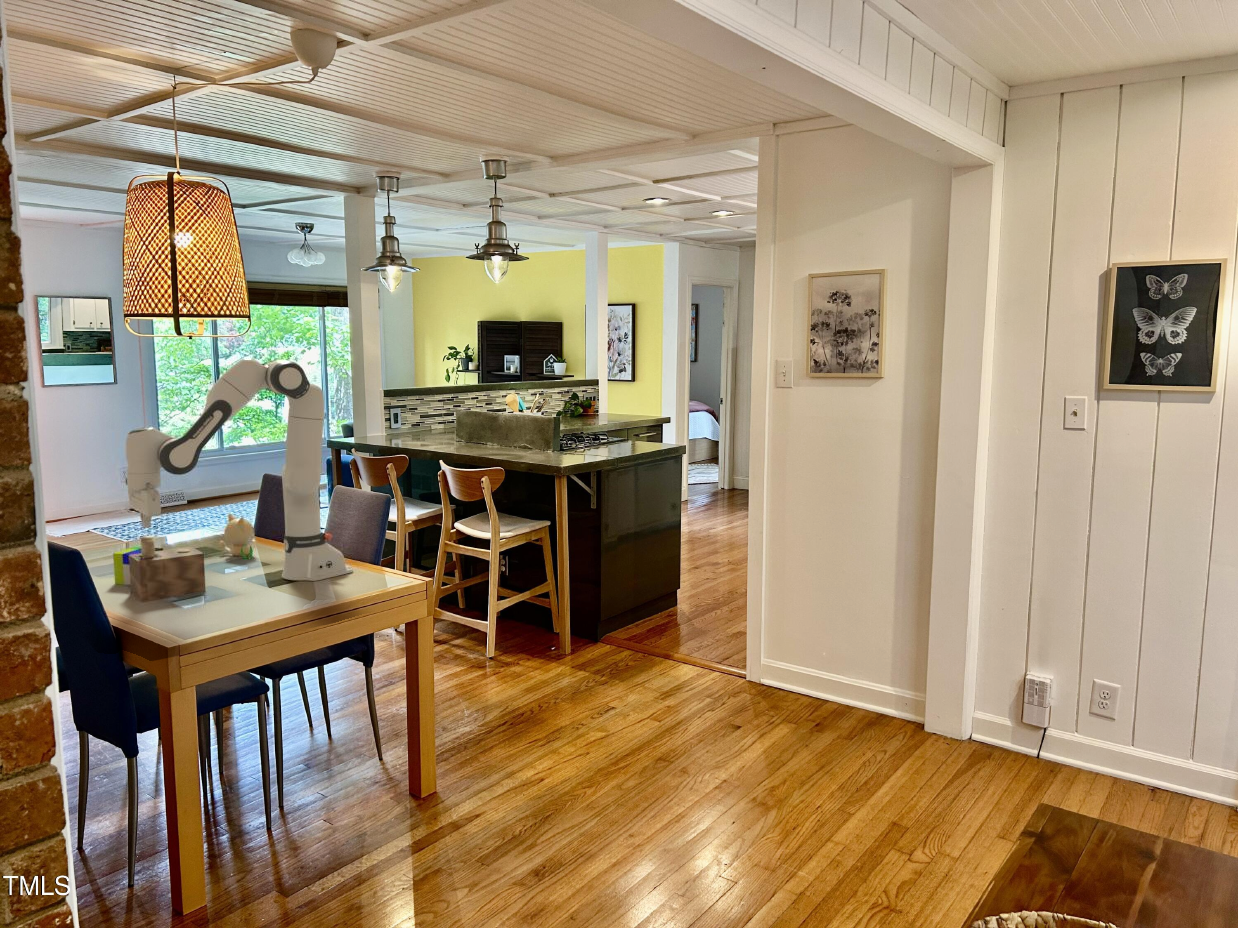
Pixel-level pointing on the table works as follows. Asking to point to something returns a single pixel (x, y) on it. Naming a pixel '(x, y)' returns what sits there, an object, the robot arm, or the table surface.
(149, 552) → the peg
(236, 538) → the kitten
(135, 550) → the puzzle toy
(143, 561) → the walnut block
